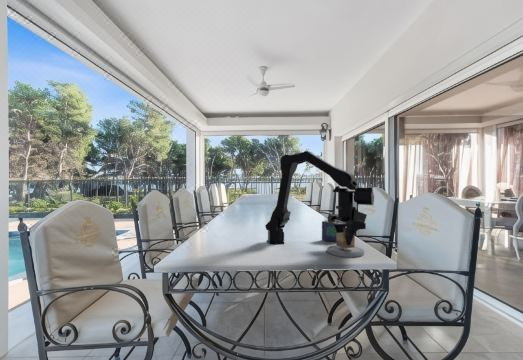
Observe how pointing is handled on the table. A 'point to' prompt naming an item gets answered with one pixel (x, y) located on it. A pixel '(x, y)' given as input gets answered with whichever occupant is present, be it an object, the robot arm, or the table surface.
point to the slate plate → (345, 251)
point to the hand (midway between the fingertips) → (345, 243)
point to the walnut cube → (344, 241)
